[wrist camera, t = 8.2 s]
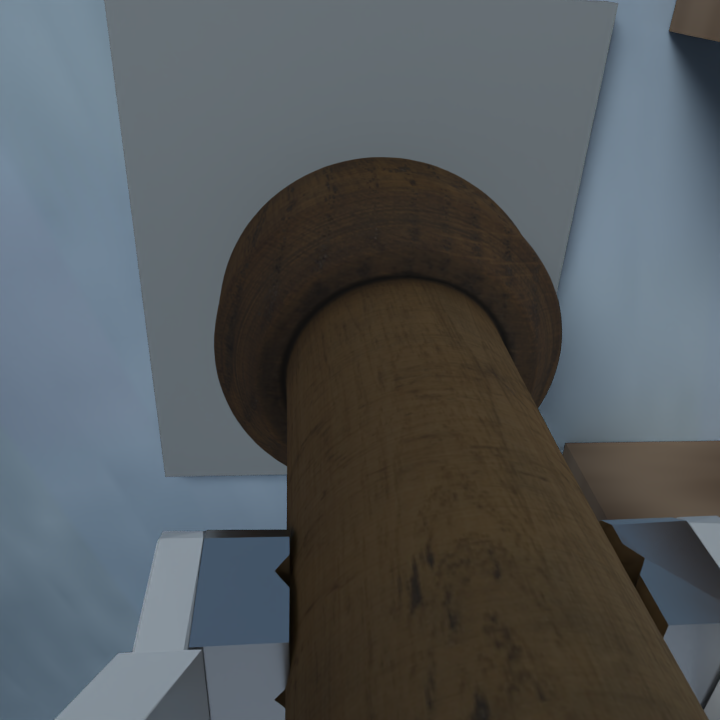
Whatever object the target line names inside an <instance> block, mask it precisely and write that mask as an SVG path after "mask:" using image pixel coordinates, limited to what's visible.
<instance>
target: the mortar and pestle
mask: <svg viewBox="0 0 720 720" xmlns="http://www.w3.org/2000/svg"><path fill="white" fill-rule="evenodd" d="M561 343H562V321H561V312H560V306H559V302H558V298H557V294H556V291H555V288H554V285H553V283H552V280H551V278H550V276H549V274H548V272H547V270H546V268H545V266H544V265H543V263H542V261H541V260H540V258H539V257H538V255H537V254H536V252H535V251H534V249H533V248H532V247H531V245H530V244H529V243H528V242H527V241H526V239H525V238H524V237H523V236H522V234H521V233H520V231H519V230H518V228H517V227H516V225H515V224H514V223H513V221H512V220H511V219H510V218H509V216H508V215H507V214H506V213H505V212H504V211H503V210H502V209H501V208H500V207H499V206H498V205H497V204H496V203H495V202H494V201H493V200H492V199H491V198H490V197H489V196H488V195H486V194H485V193H484V192H483V191H481V190H480V189H479V188H477V187H476V186H474V185H473V184H471V183H470V182H468V181H466V180H465V179H463V178H461V177H459V176H458V175H456V174H454V173H451V172H449V171H447V170H444V169H442V168H440V167H437V166H434V165H431V164H428V163H424V162H419V161H415V160H410V159H404V158H393V157H368V158H359V159H353V160H348V161H343V162H339V163H336V164H332V165H329V166H326V167H323V168H321V169H318V170H316V171H314V172H311V173H309V174H307V175H305V176H303V177H301V178H300V179H298V180H296V181H294V182H293V183H291V184H290V185H288V186H287V187H285V188H284V189H282V190H281V191H280V192H278V193H277V194H276V195H275V196H274V197H272V198H271V199H270V200H269V201H268V202H267V203H266V204H265V205H264V206H263V207H262V208H261V209H260V210H259V211H258V212H257V214H256V215H255V216H254V217H253V218H252V219H251V221H250V222H249V223H248V225H247V226H246V228H245V229H244V231H243V232H242V234H241V236H240V237H239V239H238V241H237V243H236V245H235V247H234V249H233V251H232V253H231V256H230V258H229V261H228V264H227V267H226V270H225V274H224V278H223V283H222V288H221V294H220V300H219V305H218V310H217V316H216V322H215V331H214V354H215V365H216V370H217V375H218V379H219V383H220V386H221V389H222V392H223V394H224V397H225V399H226V401H227V403H228V405H229V407H230V409H231V411H232V413H233V415H234V416H235V418H236V419H237V421H238V422H239V424H240V425H241V427H242V428H243V429H244V430H245V432H246V433H247V434H248V435H249V436H250V438H251V439H252V440H253V441H254V442H255V443H256V444H257V445H258V446H259V447H261V448H262V449H263V450H264V451H265V452H267V453H268V454H269V455H270V456H272V457H273V458H274V459H276V460H277V461H279V462H281V463H282V464H284V465H285V466H287V530H290V587H289V588H290V673H289V677H288V680H287V685H286V689H285V720H709V719H708V717H707V716H706V714H705V712H704V710H703V708H702V707H701V705H700V703H699V701H698V699H697V698H696V696H695V694H694V692H693V691H692V689H691V687H690V685H689V683H688V682H687V680H686V678H685V676H684V674H683V673H682V671H681V669H680V667H679V666H678V664H677V662H676V660H675V658H674V656H673V655H672V653H671V651H670V649H669V648H668V646H667V644H666V642H665V641H664V639H663V637H662V635H661V633H660V632H659V630H658V628H657V626H656V625H655V623H654V621H653V619H652V617H651V616H650V614H649V612H648V610H647V608H646V607H645V605H644V603H643V601H642V599H641V598H640V596H639V594H638V592H637V590H636V588H635V587H634V585H633V583H632V581H631V579H630V578H629V576H628V574H627V572H626V570H625V569H624V567H623V565H622V563H621V561H620V560H619V558H618V556H617V554H616V552H615V550H614V549H613V547H612V545H611V543H610V541H609V540H608V538H607V536H606V534H605V532H604V531H603V529H602V527H601V525H600V523H599V521H598V520H597V518H596V516H595V514H594V512H593V511H592V509H591V507H590V505H589V503H588V501H587V500H586V498H585V496H584V494H583V492H582V490H581V489H580V487H579V485H578V483H577V481H576V479H575V478H574V476H573V474H572V472H571V470H570V468H569V467H568V465H567V463H566V461H565V459H564V457H563V455H562V454H561V452H560V450H559V448H558V446H557V444H556V442H555V440H554V438H553V437H552V435H551V433H550V431H549V429H548V427H547V425H546V423H545V422H544V420H543V418H542V416H541V414H540V412H539V410H538V408H539V406H540V404H541V403H542V401H543V399H544V398H545V396H546V394H547V392H548V390H549V388H550V385H551V383H552V380H553V378H554V375H555V372H556V369H557V365H558V361H559V357H560V351H561Z"/></svg>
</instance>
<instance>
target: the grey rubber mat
mask: <svg viewBox="0 0 720 720" xmlns="http://www.w3.org/2000/svg"><path fill="white" fill-rule="evenodd" d="M104 2H105V10H106V18H107V26H108V33H109V41H110V49H111V57H112V65H113V72H114V80H115V88H116V96H117V104H118V111H119V119H120V127H121V135H122V143H123V150H124V158H125V166H126V174H127V182H128V189H129V197H130V205H131V213H132V221H133V228H134V236H135V244H136V252H137V260H138V267H139V275H140V283H141V291H142V298H143V306H144V314H145V322H146V330H147V337H148V345H149V353H150V361H151V369H152V376H153V384H154V392H155V400H156V408H157V415H158V423H159V431H160V439H161V447H162V454H163V462H164V470H165V477H178V476H234V475H287V466H285V465H284V464H282V463H281V462H279V461H277V460H276V459H274V458H273V457H272V456H270V455H269V454H268V453H267V452H265V451H264V450H263V449H262V448H261V447H259V446H258V445H257V444H256V443H255V442H254V441H253V440H252V439H251V438H250V436H249V435H248V434H247V433H246V432H245V430H244V429H243V428H242V427H241V425H240V424H239V422H238V421H237V419H236V418H235V416H234V415H233V413H232V411H231V409H230V407H229V405H228V403H227V401H226V399H225V397H224V394H223V392H222V389H221V386H220V383H219V379H218V375H217V370H216V365H215V354H214V331H215V322H216V316H217V310H218V305H219V300H220V294H221V288H222V283H223V278H224V274H225V270H226V267H227V264H228V261H229V258H230V256H231V253H232V251H233V249H234V247H235V245H236V243H237V241H238V239H239V237H240V236H241V234H242V232H243V231H244V229H245V228H246V226H247V225H248V223H249V222H250V221H251V219H252V218H253V217H254V216H255V215H256V214H257V212H258V211H259V210H260V209H261V208H262V207H263V206H264V205H265V204H266V203H267V202H268V201H269V200H270V199H271V198H272V197H274V196H275V195H276V194H277V193H278V192H280V191H281V190H282V189H284V188H285V187H287V186H288V185H290V184H291V183H293V182H294V181H296V180H298V179H300V178H301V177H303V176H305V175H307V174H309V173H311V172H314V171H316V170H318V169H321V168H323V167H326V166H329V165H332V164H336V163H339V162H343V161H348V160H353V159H359V158H368V157H393V158H404V159H410V160H415V161H419V162H424V163H428V164H431V165H434V166H437V167H440V168H442V169H444V170H447V171H449V172H451V173H454V174H456V175H458V176H459V177H461V178H463V179H465V180H466V181H468V182H470V183H471V184H473V185H474V186H476V187H477V188H479V189H480V190H481V191H483V192H484V193H485V194H486V195H488V196H489V197H490V198H491V199H492V200H493V201H494V202H495V203H496V204H497V205H498V206H499V207H500V208H501V209H502V210H503V211H504V212H505V213H506V214H507V215H508V216H509V218H510V219H511V220H512V221H513V223H514V224H515V225H516V227H517V228H518V230H519V231H520V233H521V234H522V236H523V237H524V238H525V239H526V241H527V242H528V243H529V244H530V245H531V247H532V248H533V249H534V251H535V252H536V254H537V255H538V257H539V258H540V260H541V261H542V263H543V265H544V266H545V268H546V270H547V272H548V274H549V276H550V278H551V280H552V283H553V285H554V288H555V291H556V294H557V289H558V285H559V280H560V275H561V271H562V266H563V261H564V257H565V252H566V247H567V242H568V238H569V233H570V228H571V224H572V219H573V214H574V209H575V205H576V200H577V195H578V191H579V186H580V181H581V177H582V172H583V167H584V162H585V158H586V153H587V148H588V144H589V139H590V134H591V130H592V125H593V120H594V115H595V111H596V106H597V101H598V97H599V92H600V87H601V83H602V78H603V73H604V68H605V64H606V59H607V54H608V50H609V45H610V40H611V36H612V31H613V26H614V21H615V17H616V12H617V7H618V3H614V2H608V1H589V0H104Z"/></svg>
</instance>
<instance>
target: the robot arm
mask: <svg viewBox="0 0 720 720" xmlns="http://www.w3.org/2000/svg"><path fill="white" fill-rule="evenodd" d="M599 523H600V525H601V527H602V529H603V531H604V532H605V534H606V536H607V538H608V540H609V541H610V543H611V545H612V547H613V549H614V550H615V552H616V554H617V556H618V558H619V560H620V561H621V563H622V565H623V567H624V569H625V570H626V572H627V574H628V576H629V578H630V579H631V581H632V583H633V585H634V587H635V588H636V590H637V592H638V594H639V596H640V598H641V599H642V601H643V603H644V605H645V607H646V608H647V610H648V612H649V614H650V616H651V617H652V619H653V621H654V623H655V625H656V626H657V628H658V630H659V632H660V633H661V635H662V637H663V639H664V641H665V642H666V644H667V646H668V648H669V649H670V651H671V653H672V655H673V656H674V658H675V660H676V662H677V664H678V666H679V667H680V669H681V671H682V673H683V674H684V676H685V678H686V680H687V682H688V683H689V685H690V687H691V689H692V691H693V692H694V694H695V696H696V698H697V699H698V701H699V703H700V705H701V707H702V708H703V710H704V712H705V714H706V716H707V717H708V719H709V720H720V517H718V516H693V517H677V518H672V517H668V518H643V519H617V520H600V521H599ZM289 587H290V530H207V531H163V532H162V534H161V536H160V537H159V539H158V541H157V544H156V549H155V553H154V558H153V562H152V567H151V571H150V575H149V580H148V584H147V589H146V593H145V598H144V602H143V606H142V611H141V615H140V620H139V624H138V628H137V633H136V637H135V642H134V646H133V651H132V652H126V653H118V654H117V655H116V656H115V657H114V658H113V659H112V660H111V661H110V662H109V663H108V664H107V665H106V666H105V667H104V668H103V669H102V670H101V671H100V672H99V673H98V674H97V675H96V676H95V678H94V679H93V680H92V681H91V682H90V683H89V684H88V685H87V686H86V687H85V688H84V689H83V690H82V691H81V692H80V693H79V694H78V695H77V696H76V697H75V698H74V699H73V700H72V701H71V702H70V703H69V704H68V706H67V707H66V708H65V709H64V710H63V711H62V712H61V713H60V714H59V715H58V716H57V717H56V718H55V719H54V720H285V689H286V685H287V680H288V677H289V673H290V588H289Z"/></svg>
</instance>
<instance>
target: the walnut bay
mask: <svg viewBox="0 0 720 720" xmlns="http://www.w3.org/2000/svg"><path fill="white" fill-rule="evenodd" d="M669 31H671V32H675V33H680V34H685V35H689V36H694V37H699V38H703V39H708V40H713V41H718V42H720V0H677V1H676V5H675V9H674V13H673V17H672V21H671V25H670V29H669ZM563 457H564V459H565V461H566V463H567V465H568V467H569V468H570V470H571V472H572V474H573V476H574V478H575V479H576V481H577V483H578V485H579V487H580V489H581V490H582V492H583V494H584V496H585V498H586V500H587V501H588V503H589V505H590V507H591V509H592V511H593V512H594V514H595V516H596V518H597V520H598V521H600V520H617V519H643V518H668V517H672V518H677V517H693V516H718V517H720V441H682V442H611V443H565V447H564V451H563Z"/></svg>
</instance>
